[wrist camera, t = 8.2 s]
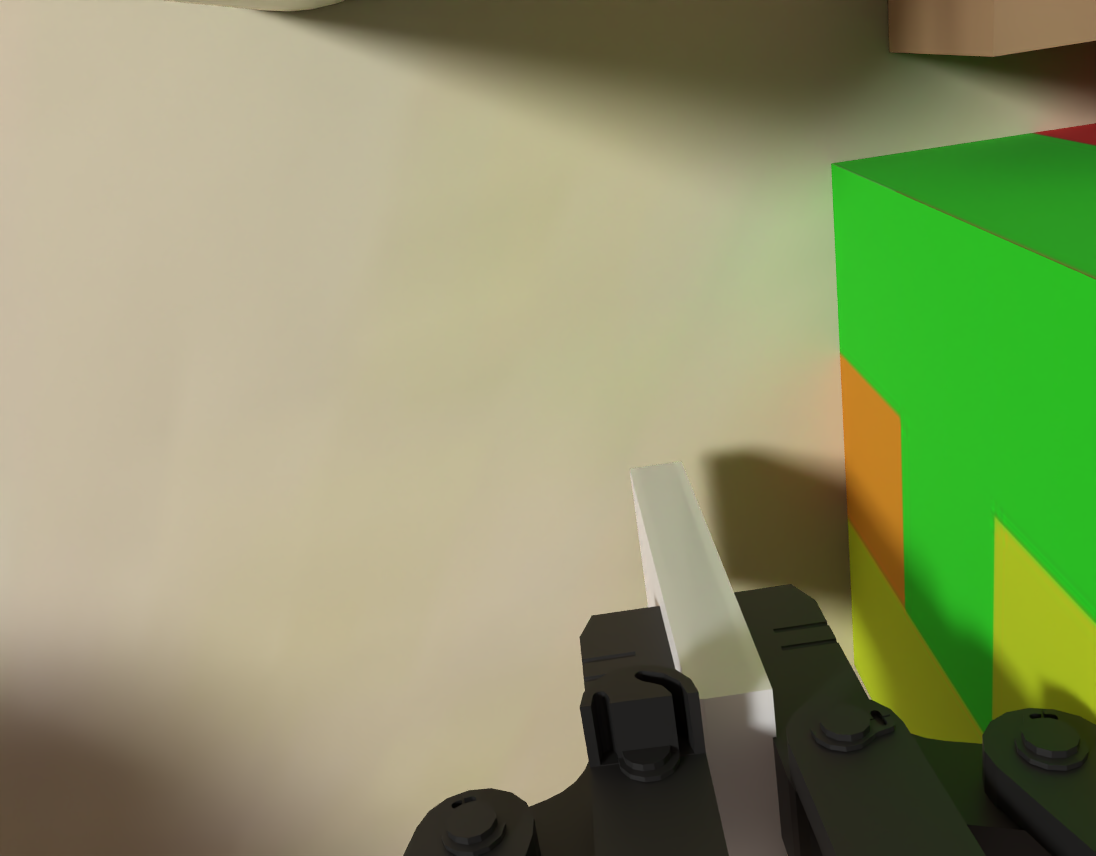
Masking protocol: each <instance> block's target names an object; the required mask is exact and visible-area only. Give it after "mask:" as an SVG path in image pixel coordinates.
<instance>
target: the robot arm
mask: <svg viewBox="0 0 1096 856" xmlns="http://www.w3.org/2000/svg"><path fill="white" fill-rule="evenodd" d="M630 476H631V483H632V491H633V498H634V505H635V513H636V520H637V528H638V535H639V542H640V550H641V557H642V565H643V572H644V579H645V587H646V594H647V602H648V608H641V609H634V610H627V611H621V612H614V613H607V614H600V615H593V616H591V618H590V620H589V622H588V624H587V625H586V627H585V629H584V631H583V632H582V634H581V636H580V645H581V655H582V663H583V664H582V665H583V675H584V685H585V692H584V693H583V697H582V701H581V704H580V711H581V717H582V723H583V729H584V735H585V741H586V747H587V753H588V759H589V762H588V764H587V766H586V769H585V771H584V772H583V773H582V775H581V776H580V777H579V778H578V779H577V781H576V782H575V783H573V784H572V785H571V786H569V787H568V788H567V789H566V790H564V791H563V792H561V793H559V794H557V795H555V796H553V797H551V798H549V799H547V800H545V801H543V802H540V803H538V804H535V805H533V806H530V807H528V805H527V803H526V802H525V801H523V800H522V799H520V798H519V797H517V796H516V795H514V794H513V793H511V792H507V791H502V790H497V789H492V788H490V789H479V790H469V791H466V792H463V793H461V794H458V795H455V796H452V797H450V798H447V799H446V800H444V801H443V802H441V803H440V804H439V805H437V806H436V807H434V808H433V809H432V810H430V811H429V812H428V813H427V815H426V816H425V817H424V819H423V820H422V821H421V823H420V824H419V825H418V827H417V828H416V830H415V832H414V834H413V836H412V839H411V841H410V843H409V845H408V847H407V849H406V851H405V853H404V855H403V856H787V854H788V856H1096V724H1094V723H1092V722H1090V721H1088V720H1086V719H1084V718H1082V717H1081V716H1077V715H1074V714H1070V713H1066V712H1063V711H1059V710H1055V709H1039V708H1026V709H1021V710H1015V711H1010V712H1006V713H1004V714H1002V715H1001V716H999V717H997V718H995V719H994V720H992V721H990V723H989V724H988V726H987V728H986V729H985V731H984V733H983V735H982V744H979V743H967V742H954V741H943V740H937V739H930V738H924V737H921V736H918V735H915V734H912V733H910V732H909V730H908V728H907V727H906V725H905V723H904V722H903V721H902V720H901V719H900V718H899V717H898V716H897V715H896V714H895V713H894V712H893V711H892V710H891V709H890V708H888V707H885V706H883V705H881V704H879V703H877V702H875V701H873V700H870V699H869V698H868V696H867V695H866V693H865V691H864V689H863V687H862V685H861V684H860V682H859V680H858V678H857V676H856V674H855V672H854V671H853V669H852V667H851V665H850V663H849V661H848V660H847V658H846V656H845V654H844V652H843V650H842V649H841V647H840V645H839V643H837V641H836V637H835V636H834V634H833V632H832V630H831V628H830V626H829V625H827V621H826V619H825V617H824V615H823V613H822V612H821V610H820V608H819V606H818V604H817V602H816V601H815V600H814V599H813V598H811V597H810V596H808V595H807V594H805V593H804V592H802V591H801V590H799V589H798V588H796V587H795V586H793V585H792V584H789V585H782V586H775V587H769V588H762V589H755V590H748V591H742V592H735V593H734V592H733V589H732V587H731V584H730V582H729V579H728V577H727V574H726V572H725V569H724V567H723V564H722V562H721V559H720V557H719V554H718V552H717V549H716V547H715V544H714V541H713V539H712V536H711V534H710V531H709V529H708V526H707V524H706V521H705V519H704V516H703V514H702V511H701V509H700V506H699V504H698V501H697V499H696V496H695V494H694V491H693V489H692V486H691V484H690V481H689V479H688V476H687V474H686V471H685V469H684V466H683V464H682V461H679V462H672V463H665V464H658V465H652V466H645V467H638V468H632V469H630Z"/></svg>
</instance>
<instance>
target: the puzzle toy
mask: <svg viewBox="0 0 1096 856" xmlns="http://www.w3.org/2000/svg"><path fill="white" fill-rule="evenodd" d="M831 167H832V189H833V211H834V232H835V254H836V276H837V297H838V319H839V341H840V362H841V384H842V406H843V427H844V449H845V471H846V492H847V514H848V536H849V557H850V579H851V601H852V623H853V644H854V665H855V667H856V669H857V671H858V673H859V675H860V677H861V679H862V681H863V683H864V685H865V687H866V689H867V691H868V693H869V695H870V697H871V699H872V700H873V701H875V702H877V703H879V704H881V705H883V706H885V707H888V708H890V709H891V710H892V711H893V712H894V713H895V714H896V715H897V716H898V717H899V718H900V719H901V720H902V721H903V722H904V723H905V725H906V727H907V728H908V730H909V732H910V733H912V734H915V735H918V736H921V737H924V738H930V739H937V740H943V741H954V742H967V743H979V744H982V735H983V733H984V731H985V729H986V728H987V726H988V724H989V723H990V721H992V720H994V719H995V718H997V717H999V716H1001V715H1002V714H1004V713H1006V712H1010V711H1015V710H1021V709H1026V708H1039V709H1055V710H1059V711H1063V712H1066V713H1070V714H1074V715H1077V716H1081V717H1082V718H1084V719H1086V720H1088V721H1090V722H1092V723H1094V724H1096V123H1095V124H1089V125H1082V126H1076V127H1069V128H1062V129H1056V130H1049V131H1043V132H1036V133H1030V134H1023V135H1016V136H1010V137H1003V138H997V139H990V140H983V141H977V142H970V143H964V144H957V145H950V146H944V147H937V148H931V149H924V150H918V151H911V152H904V153H898V154H891V155H885V156H878V157H871V158H865V159H858V160H852V161H845V162H839V163H832V164H831Z"/></svg>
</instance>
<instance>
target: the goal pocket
mask: <svg viewBox="0 0 1096 856" xmlns="http://www.w3.org/2000/svg"><path fill="white" fill-rule="evenodd" d="M888 20H889V52H897V53H920V54H943V55H966V56H989V57H994V56H1001V55H1007V54H1014V53H1020V52H1026V51H1033V50H1039V49H1045V48H1052V47H1058V46H1064V45H1071V44H1077V43H1084V42H1090V41H1096V0H888Z"/></svg>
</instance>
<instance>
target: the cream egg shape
mask: <svg viewBox="0 0 1096 856" xmlns="http://www.w3.org/2000/svg"><path fill="white" fill-rule="evenodd" d="M164 1H174V2H184V3H195V4H205V5H215V6H225V7H235V8H246V9H256V10H269V11H299V10H310V9H316V8H320V7H324V6H328V5H332V4H337V3H339V2H342V1H344V0H164Z"/></svg>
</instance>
